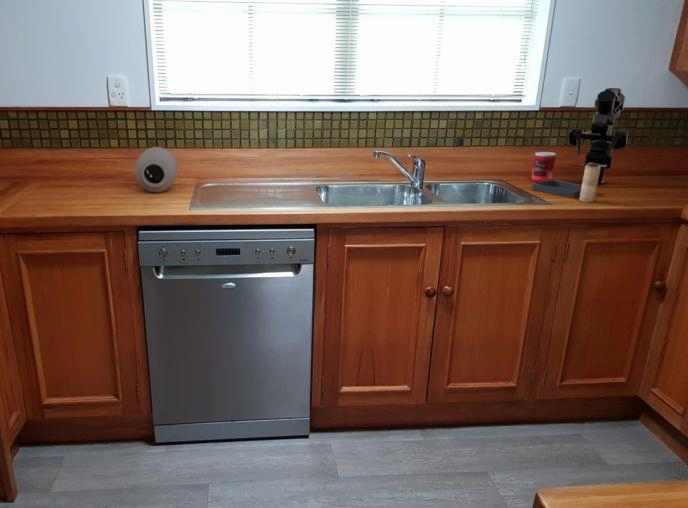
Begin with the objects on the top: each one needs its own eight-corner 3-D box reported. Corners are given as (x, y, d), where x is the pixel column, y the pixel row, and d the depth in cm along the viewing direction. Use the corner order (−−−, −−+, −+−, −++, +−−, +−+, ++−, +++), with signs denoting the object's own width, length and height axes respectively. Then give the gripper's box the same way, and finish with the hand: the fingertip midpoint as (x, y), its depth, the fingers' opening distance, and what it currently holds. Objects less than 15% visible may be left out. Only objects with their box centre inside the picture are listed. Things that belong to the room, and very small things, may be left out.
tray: (553, 185, 236) (554, 179, 235) (594, 193, 223) (596, 187, 222) (532, 189, 230) (533, 183, 229) (573, 198, 216) (575, 191, 215)
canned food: (547, 179, 248) (552, 151, 244) (553, 183, 241) (558, 155, 237) (528, 178, 249) (532, 151, 245) (534, 182, 242) (538, 154, 238)
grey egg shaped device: (195, 172, 233) (180, 175, 209) (171, 201, 237) (154, 207, 212) (157, 138, 231) (138, 138, 207) (133, 168, 234) (112, 170, 210)
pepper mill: (584, 198, 216) (591, 161, 211) (596, 201, 213) (604, 163, 208) (576, 200, 214) (583, 163, 209) (588, 202, 210) (596, 165, 205)
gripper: (575, 105, 219) (565, 137, 213) (633, 107, 210) (624, 141, 204) (574, 127, 227) (564, 159, 222) (629, 130, 219) (621, 163, 213)
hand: (592, 155), depth 215 cm, fingers open, 9 cm apart
